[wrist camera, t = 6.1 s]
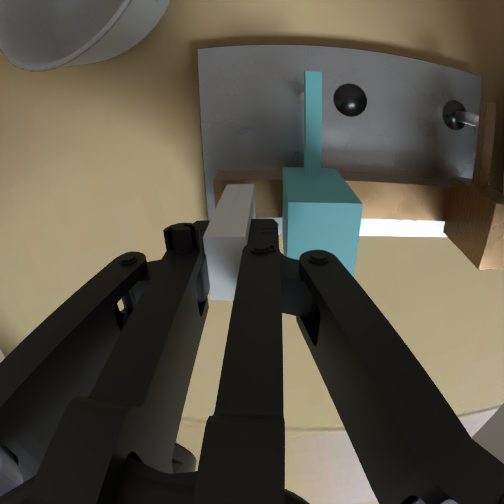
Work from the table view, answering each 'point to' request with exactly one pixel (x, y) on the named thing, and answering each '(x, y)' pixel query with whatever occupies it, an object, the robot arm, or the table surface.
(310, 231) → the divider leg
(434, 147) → the gauge board
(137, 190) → the table surface
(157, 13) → the teacup
